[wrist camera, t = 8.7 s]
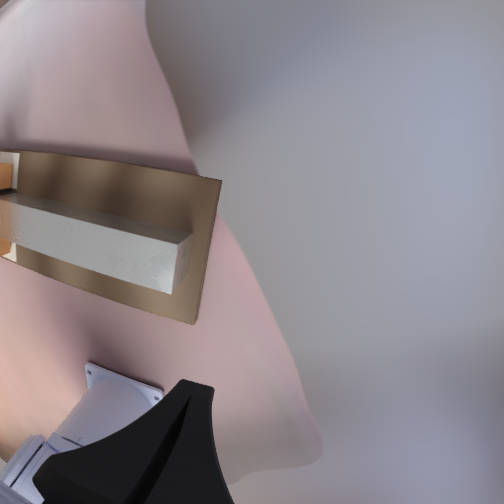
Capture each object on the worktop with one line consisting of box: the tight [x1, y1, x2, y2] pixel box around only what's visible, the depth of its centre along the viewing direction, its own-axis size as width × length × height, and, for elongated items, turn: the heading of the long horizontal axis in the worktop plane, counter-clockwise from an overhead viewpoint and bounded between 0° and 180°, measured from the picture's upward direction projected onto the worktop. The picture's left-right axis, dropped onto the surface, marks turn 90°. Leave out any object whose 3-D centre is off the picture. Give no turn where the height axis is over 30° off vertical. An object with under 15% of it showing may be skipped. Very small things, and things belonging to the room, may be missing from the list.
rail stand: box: [0, 148, 222, 325], centre depth 19 cm, size 26×10×4 cm, turn 78°
